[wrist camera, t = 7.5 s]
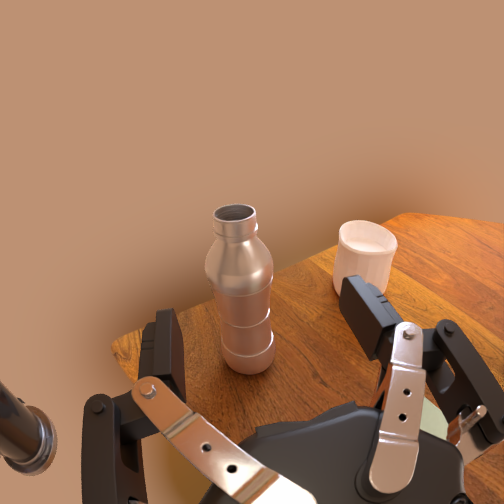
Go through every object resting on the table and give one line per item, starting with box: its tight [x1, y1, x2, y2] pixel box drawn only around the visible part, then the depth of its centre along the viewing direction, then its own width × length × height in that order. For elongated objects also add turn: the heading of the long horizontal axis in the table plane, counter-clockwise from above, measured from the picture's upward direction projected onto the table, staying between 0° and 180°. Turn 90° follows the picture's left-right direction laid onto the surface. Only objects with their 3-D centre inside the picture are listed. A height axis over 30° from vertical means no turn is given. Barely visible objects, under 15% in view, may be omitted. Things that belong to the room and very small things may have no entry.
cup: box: [333, 220, 397, 296], centre depth 42 cm, size 10×10×10 cm
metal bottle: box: [205, 204, 276, 375], centre depth 29 cm, size 6×7×20 cm
